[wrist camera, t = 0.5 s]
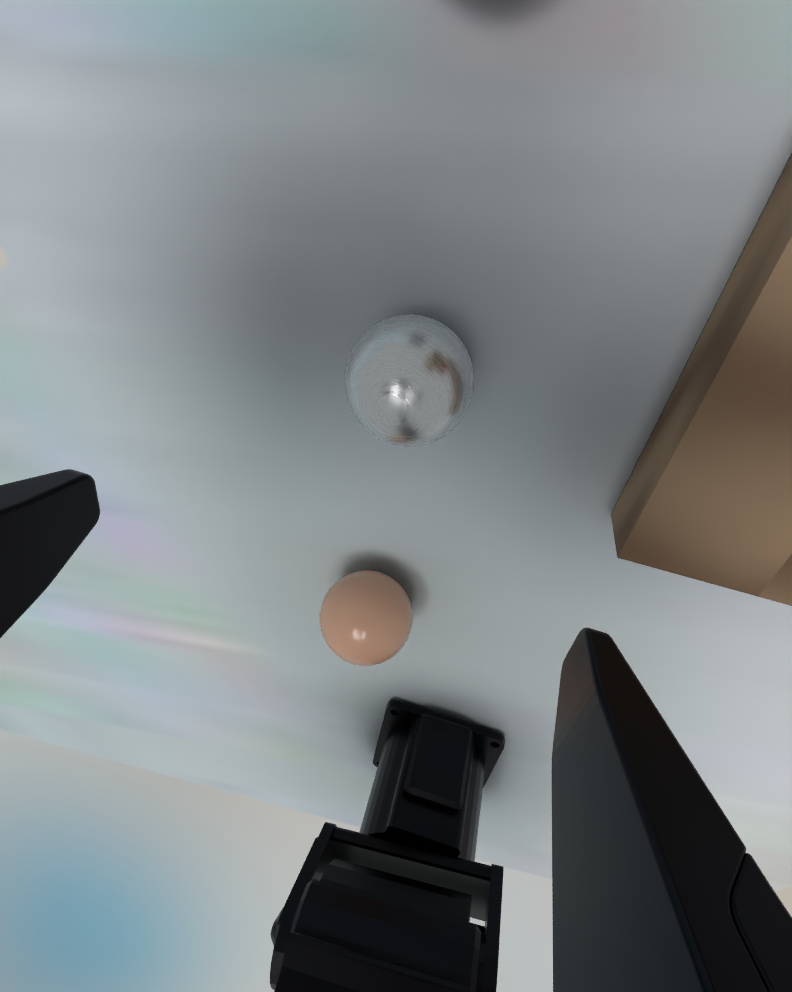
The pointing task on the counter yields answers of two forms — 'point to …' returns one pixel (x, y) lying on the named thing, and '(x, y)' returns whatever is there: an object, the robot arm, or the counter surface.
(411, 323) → the steel ball
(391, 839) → the robot arm
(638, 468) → the brown recessed board
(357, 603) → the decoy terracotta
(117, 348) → the counter surface
